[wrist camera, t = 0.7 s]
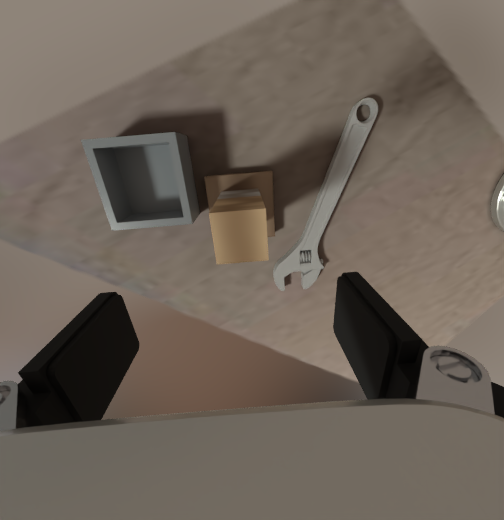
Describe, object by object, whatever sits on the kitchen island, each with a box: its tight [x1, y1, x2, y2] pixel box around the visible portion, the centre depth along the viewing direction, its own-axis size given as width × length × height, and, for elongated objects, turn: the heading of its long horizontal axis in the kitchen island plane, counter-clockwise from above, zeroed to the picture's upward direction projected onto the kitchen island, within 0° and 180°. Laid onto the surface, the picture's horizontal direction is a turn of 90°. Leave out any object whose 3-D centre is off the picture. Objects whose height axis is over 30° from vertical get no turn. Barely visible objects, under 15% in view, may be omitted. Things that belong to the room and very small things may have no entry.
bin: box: [81, 132, 200, 230], centre depth 26 cm, size 9×9×5 cm
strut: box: [209, 189, 268, 264], centre depth 24 cm, size 4×4×11 cm
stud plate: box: [204, 170, 275, 237], centre depth 28 cm, size 8×8×6 cm
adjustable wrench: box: [273, 98, 378, 291], centre depth 30 cm, size 25×6×2 cm, turn 158°
